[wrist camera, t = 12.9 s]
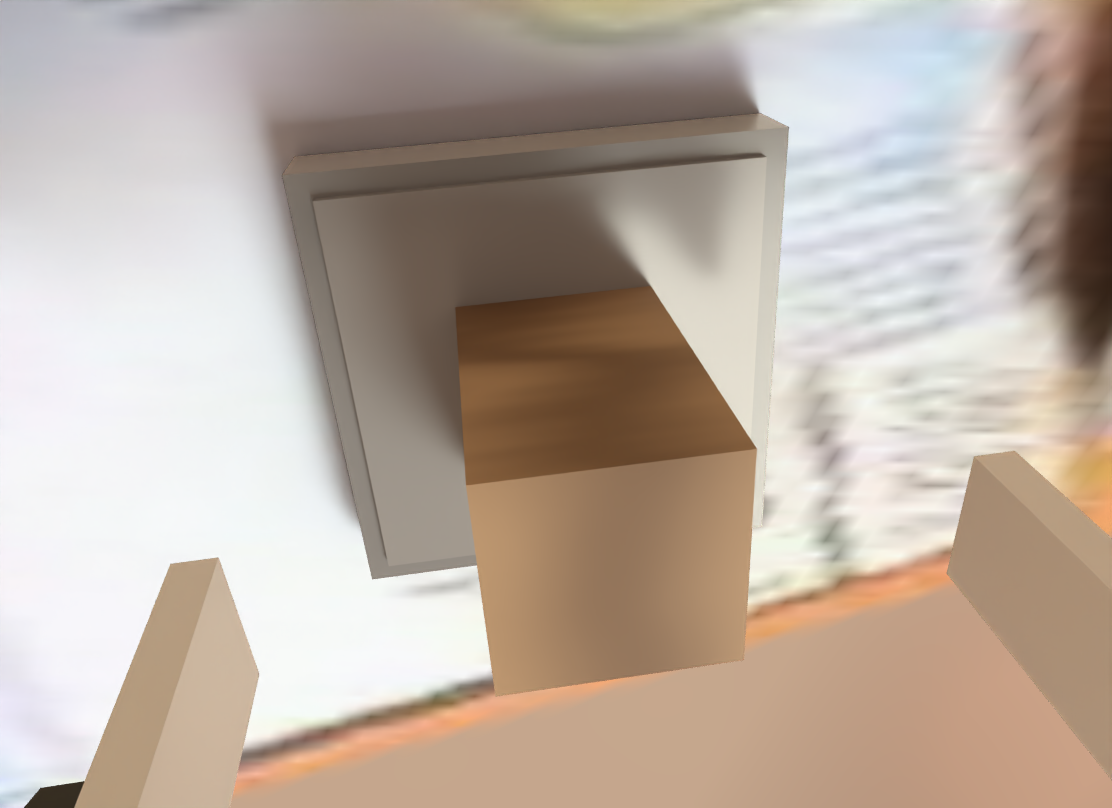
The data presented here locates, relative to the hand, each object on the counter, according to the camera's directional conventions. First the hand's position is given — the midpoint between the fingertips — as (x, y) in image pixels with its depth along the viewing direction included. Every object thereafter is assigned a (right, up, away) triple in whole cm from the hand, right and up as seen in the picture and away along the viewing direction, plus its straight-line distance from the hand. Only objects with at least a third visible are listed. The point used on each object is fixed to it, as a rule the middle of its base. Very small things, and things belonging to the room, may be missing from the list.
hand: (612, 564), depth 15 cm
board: (-1, +4, +9) cm, 11 cm away
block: (-1, +3, +8) cm, 8 cm away
